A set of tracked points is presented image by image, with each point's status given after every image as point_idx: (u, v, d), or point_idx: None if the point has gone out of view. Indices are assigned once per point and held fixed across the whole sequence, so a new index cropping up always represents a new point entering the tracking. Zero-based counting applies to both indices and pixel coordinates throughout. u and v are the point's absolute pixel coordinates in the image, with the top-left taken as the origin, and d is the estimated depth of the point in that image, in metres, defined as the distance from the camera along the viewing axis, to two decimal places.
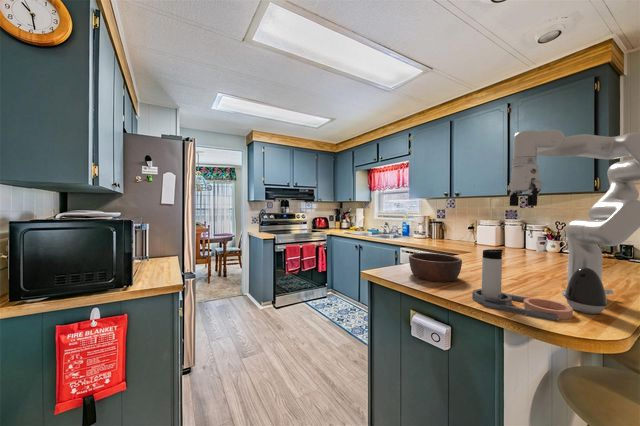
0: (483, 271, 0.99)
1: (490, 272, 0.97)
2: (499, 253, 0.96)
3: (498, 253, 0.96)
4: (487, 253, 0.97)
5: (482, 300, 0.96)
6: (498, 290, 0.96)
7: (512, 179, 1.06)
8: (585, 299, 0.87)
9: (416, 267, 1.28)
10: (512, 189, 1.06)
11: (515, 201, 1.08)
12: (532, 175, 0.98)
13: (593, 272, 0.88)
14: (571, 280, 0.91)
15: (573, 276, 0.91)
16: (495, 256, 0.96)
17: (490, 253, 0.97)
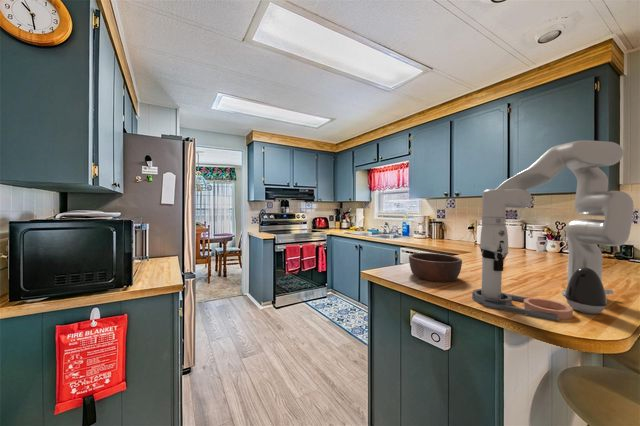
0: (483, 271, 0.99)
1: (489, 271, 0.97)
2: None
3: None
4: (487, 253, 0.97)
5: (482, 300, 0.96)
6: (498, 289, 0.96)
7: (482, 237, 1.02)
8: (585, 299, 0.87)
9: (416, 267, 1.28)
10: (482, 247, 1.02)
11: None
12: (500, 238, 0.94)
13: (593, 272, 0.88)
14: (571, 280, 0.91)
15: (573, 276, 0.91)
16: None
17: (490, 253, 0.97)
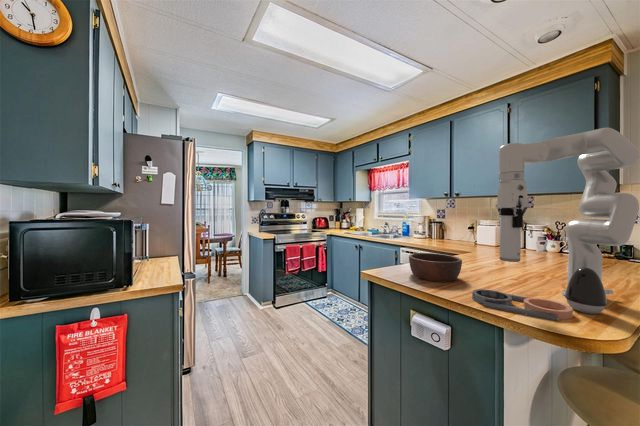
0: (501, 229, 0.96)
1: (508, 229, 0.93)
2: None
3: None
4: (505, 210, 0.94)
5: (482, 300, 0.96)
6: (518, 247, 0.93)
7: (499, 195, 0.98)
8: (585, 299, 0.87)
9: (416, 267, 1.28)
10: (499, 206, 0.98)
11: None
12: (519, 192, 0.90)
13: (593, 272, 0.88)
14: (571, 280, 0.91)
15: (573, 276, 0.91)
16: None
17: (508, 210, 0.93)
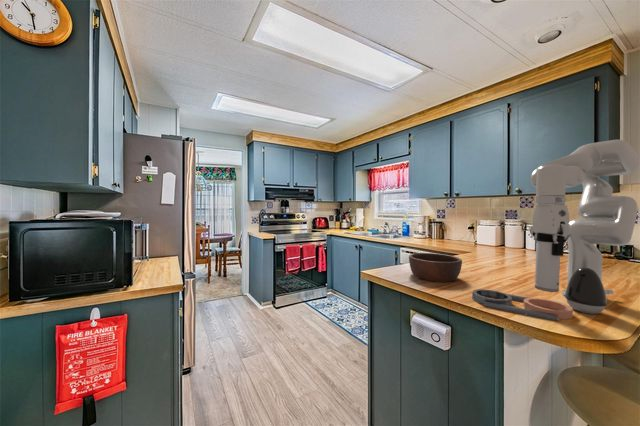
0: (538, 256, 0.89)
1: (547, 256, 0.87)
2: None
3: (557, 236, 0.86)
4: (544, 236, 0.87)
5: (482, 300, 0.96)
6: (557, 276, 0.86)
7: (535, 219, 0.92)
8: (585, 299, 0.87)
9: (416, 267, 1.28)
10: (535, 230, 0.92)
11: None
12: (561, 218, 0.84)
13: (593, 272, 0.88)
14: (571, 280, 0.91)
15: (573, 276, 0.91)
16: None
17: (547, 236, 0.87)
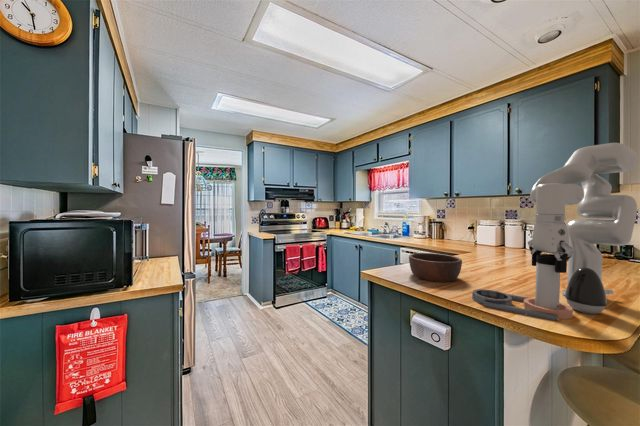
0: (538, 278, 0.89)
1: (547, 279, 0.87)
2: None
3: None
4: (544, 258, 0.88)
5: (482, 300, 0.96)
6: (557, 299, 0.87)
7: (535, 236, 0.92)
8: (585, 299, 0.87)
9: (416, 267, 1.28)
10: (535, 248, 0.92)
11: None
12: (560, 237, 0.84)
13: (593, 272, 0.88)
14: (571, 280, 0.91)
15: (573, 276, 0.91)
16: (553, 262, 0.86)
17: (547, 258, 0.87)
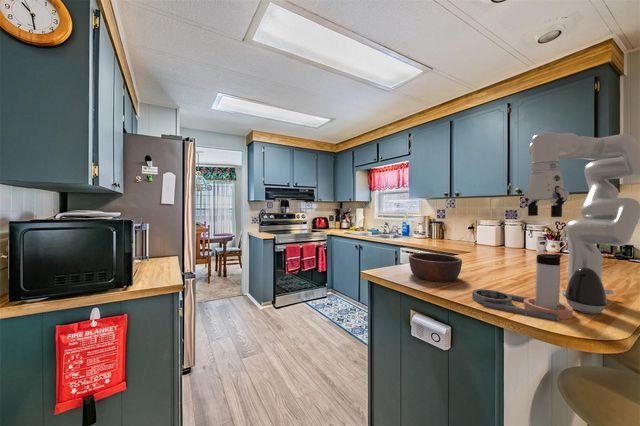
0: (538, 278, 0.89)
1: (547, 279, 0.87)
2: (558, 258, 0.86)
3: (557, 258, 0.86)
4: (543, 258, 0.88)
5: (482, 300, 0.96)
6: (557, 299, 0.87)
7: (531, 186, 0.96)
8: (585, 299, 0.87)
9: (416, 267, 1.28)
10: (531, 197, 0.96)
11: (534, 210, 0.97)
12: (556, 183, 0.88)
13: (593, 272, 0.88)
14: (571, 280, 0.91)
15: (573, 276, 0.91)
16: (553, 262, 0.86)
17: (547, 258, 0.87)
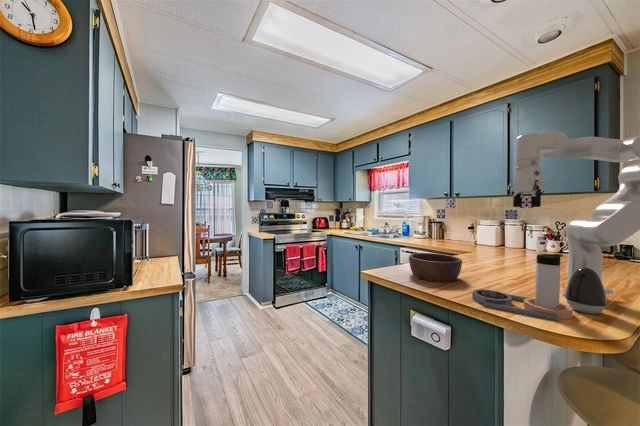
0: (538, 278, 0.89)
1: (547, 279, 0.87)
2: (558, 259, 0.86)
3: (557, 259, 0.86)
4: (543, 258, 0.88)
5: (482, 300, 0.96)
6: (557, 299, 0.87)
7: (515, 181, 1.09)
8: (585, 299, 0.87)
9: (416, 267, 1.28)
10: (515, 190, 1.09)
11: (519, 202, 1.10)
12: (535, 177, 1.01)
13: (593, 272, 0.88)
14: (571, 280, 0.91)
15: (573, 276, 0.91)
16: (553, 262, 0.86)
17: (547, 258, 0.87)
